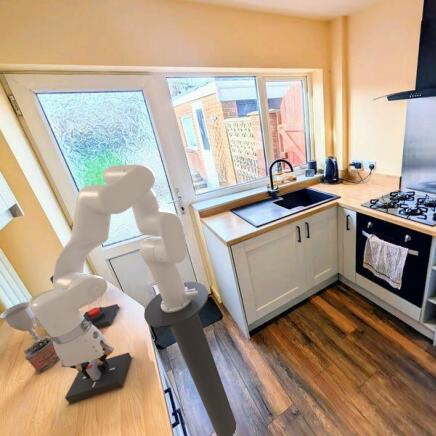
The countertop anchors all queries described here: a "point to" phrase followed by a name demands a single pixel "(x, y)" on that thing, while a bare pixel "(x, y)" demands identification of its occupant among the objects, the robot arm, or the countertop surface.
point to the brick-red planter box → (41, 354)
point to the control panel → (100, 380)
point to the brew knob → (93, 370)
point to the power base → (103, 316)
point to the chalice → (21, 318)
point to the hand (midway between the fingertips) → (98, 372)
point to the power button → (94, 312)
